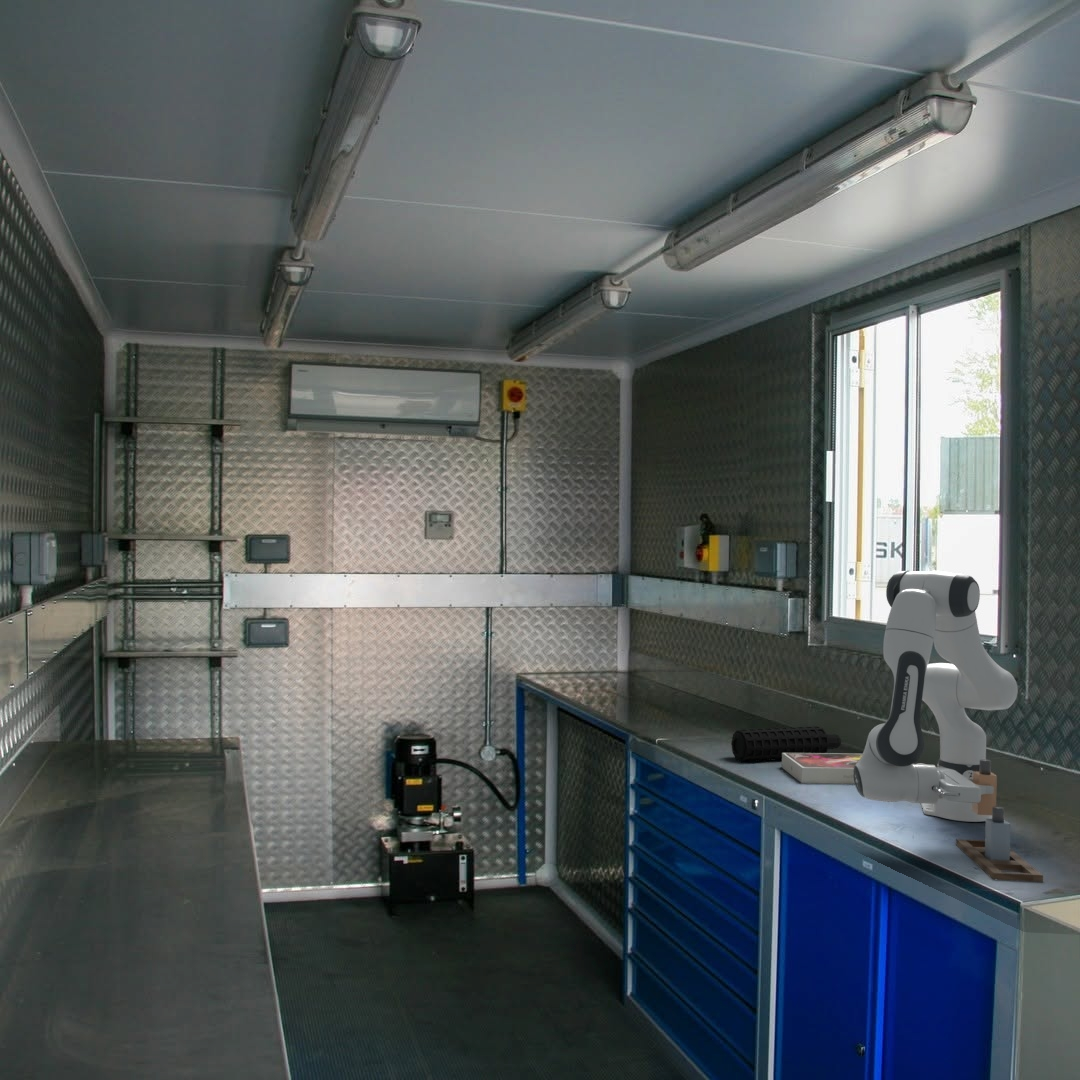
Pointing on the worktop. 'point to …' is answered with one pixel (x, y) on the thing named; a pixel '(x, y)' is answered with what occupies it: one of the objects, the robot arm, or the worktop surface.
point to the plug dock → (999, 863)
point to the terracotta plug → (985, 779)
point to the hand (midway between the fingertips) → (988, 786)
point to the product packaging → (821, 767)
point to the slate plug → (997, 836)
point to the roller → (781, 742)
